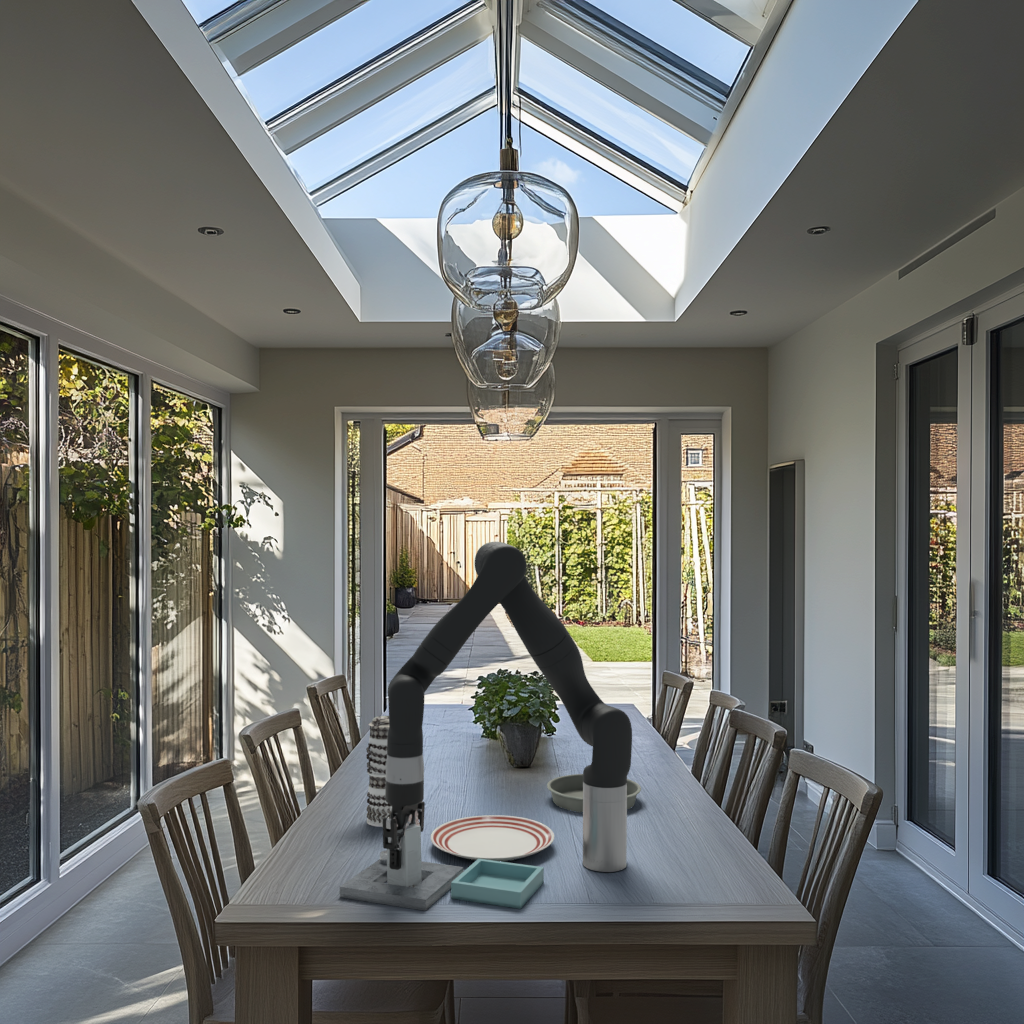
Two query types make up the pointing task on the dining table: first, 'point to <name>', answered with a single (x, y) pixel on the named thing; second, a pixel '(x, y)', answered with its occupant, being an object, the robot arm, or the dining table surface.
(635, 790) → the cake pan
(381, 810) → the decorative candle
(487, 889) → the tray
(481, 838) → the dinner plate
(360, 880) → the socket block
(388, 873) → the skincare box
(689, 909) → the dining table surface
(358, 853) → the dining table surface
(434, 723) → the dining table surface
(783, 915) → the dining table surface
